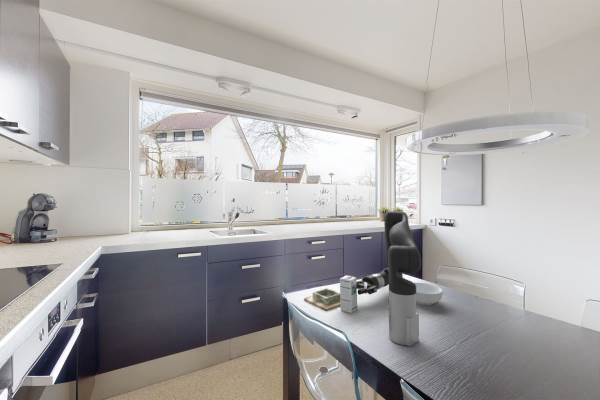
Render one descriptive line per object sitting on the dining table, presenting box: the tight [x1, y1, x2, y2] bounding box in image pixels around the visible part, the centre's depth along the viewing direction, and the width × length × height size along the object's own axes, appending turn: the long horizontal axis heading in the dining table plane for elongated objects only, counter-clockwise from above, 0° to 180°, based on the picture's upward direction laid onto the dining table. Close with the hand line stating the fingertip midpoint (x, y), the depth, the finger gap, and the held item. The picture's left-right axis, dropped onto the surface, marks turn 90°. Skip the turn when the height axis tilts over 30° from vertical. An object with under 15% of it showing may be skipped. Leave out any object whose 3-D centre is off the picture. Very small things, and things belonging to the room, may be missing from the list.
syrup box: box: [339, 275, 358, 313], centre depth 120 cm, size 6×6×14 cm
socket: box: [303, 287, 340, 311], centre depth 130 cm, size 16×16×4 cm
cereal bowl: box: [413, 282, 443, 306], centre depth 128 cm, size 17×17×7 cm
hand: (351, 289), depth 121 cm, fingers open, 8 cm apart
